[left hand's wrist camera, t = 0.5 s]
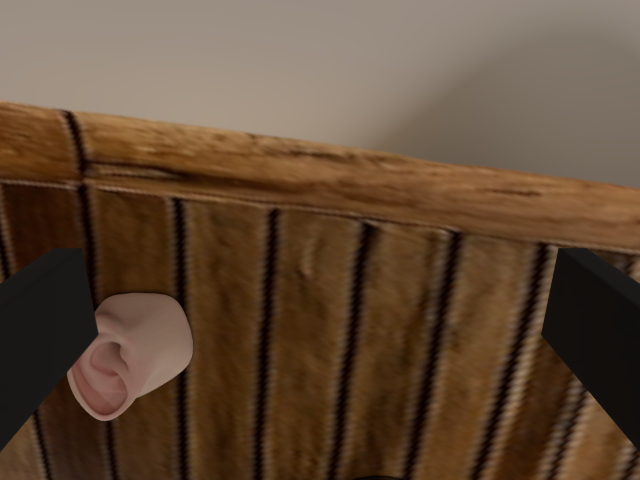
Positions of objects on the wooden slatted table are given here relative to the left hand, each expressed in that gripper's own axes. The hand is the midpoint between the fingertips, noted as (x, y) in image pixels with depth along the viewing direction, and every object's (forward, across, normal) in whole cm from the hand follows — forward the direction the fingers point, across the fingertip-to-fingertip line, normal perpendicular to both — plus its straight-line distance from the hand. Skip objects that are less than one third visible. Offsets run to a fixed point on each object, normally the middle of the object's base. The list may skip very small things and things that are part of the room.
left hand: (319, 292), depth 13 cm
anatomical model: (+28, +19, +20) cm, 40 cm away
